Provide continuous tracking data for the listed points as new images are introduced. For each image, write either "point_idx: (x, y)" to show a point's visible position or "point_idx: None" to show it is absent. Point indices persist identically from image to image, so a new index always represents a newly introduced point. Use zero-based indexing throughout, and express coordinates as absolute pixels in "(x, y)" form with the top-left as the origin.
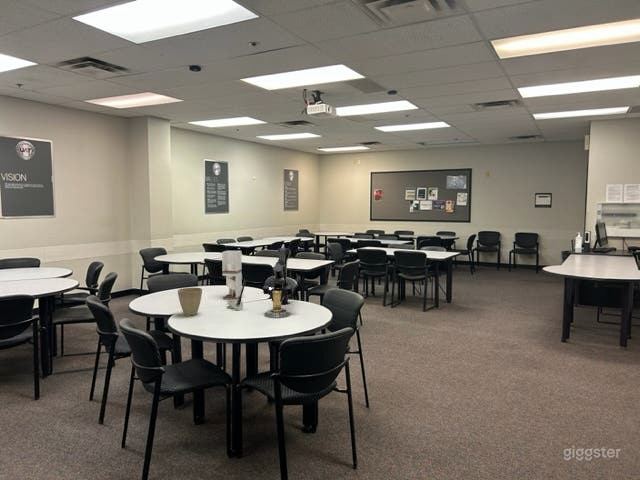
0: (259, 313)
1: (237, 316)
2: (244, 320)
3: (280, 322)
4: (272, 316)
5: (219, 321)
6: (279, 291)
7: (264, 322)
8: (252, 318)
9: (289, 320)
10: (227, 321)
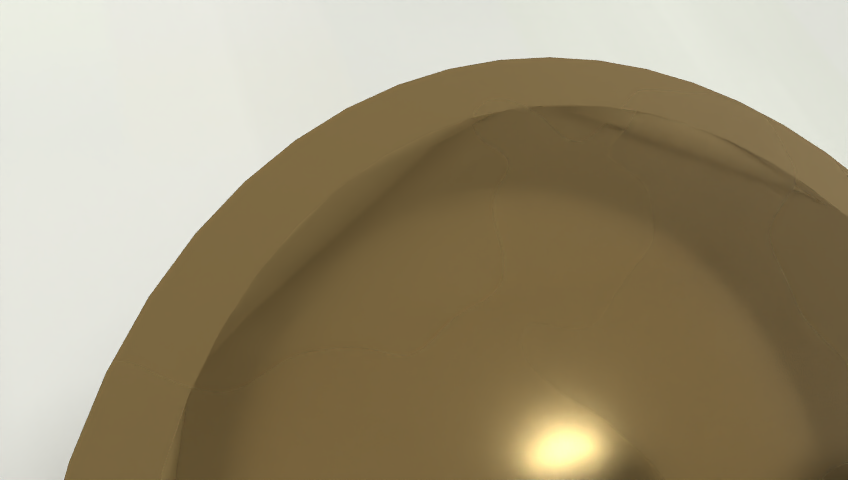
0: None
1: None
2: (650, 58)
3: (215, 21)
4: None
5: (821, 5)
6: (269, 197)
7: (411, 6)
8: None
9: (100, 125)
10: (764, 11)
